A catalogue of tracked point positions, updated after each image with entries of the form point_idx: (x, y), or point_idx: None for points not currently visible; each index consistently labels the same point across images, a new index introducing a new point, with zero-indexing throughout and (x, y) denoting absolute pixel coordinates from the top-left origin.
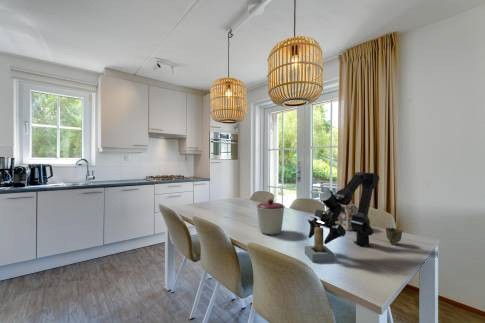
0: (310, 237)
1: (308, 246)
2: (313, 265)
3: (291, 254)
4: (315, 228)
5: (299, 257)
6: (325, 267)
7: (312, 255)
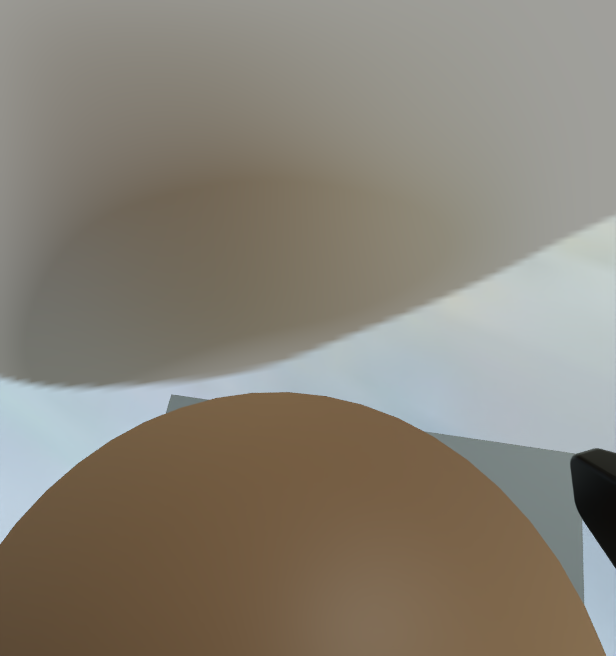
0: (588, 518)
1: (551, 524)
2: (123, 401)
3: (517, 282)
4: (280, 437)
5: (399, 341)
6: (8, 527)
7: (174, 400)
